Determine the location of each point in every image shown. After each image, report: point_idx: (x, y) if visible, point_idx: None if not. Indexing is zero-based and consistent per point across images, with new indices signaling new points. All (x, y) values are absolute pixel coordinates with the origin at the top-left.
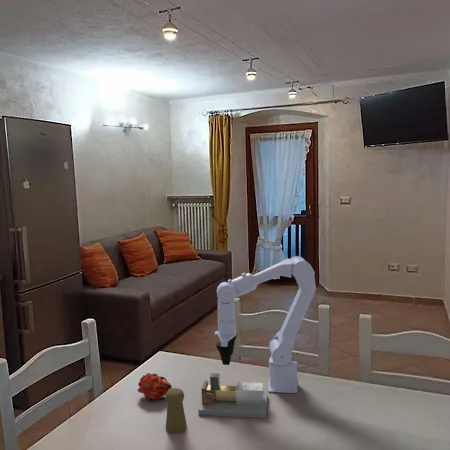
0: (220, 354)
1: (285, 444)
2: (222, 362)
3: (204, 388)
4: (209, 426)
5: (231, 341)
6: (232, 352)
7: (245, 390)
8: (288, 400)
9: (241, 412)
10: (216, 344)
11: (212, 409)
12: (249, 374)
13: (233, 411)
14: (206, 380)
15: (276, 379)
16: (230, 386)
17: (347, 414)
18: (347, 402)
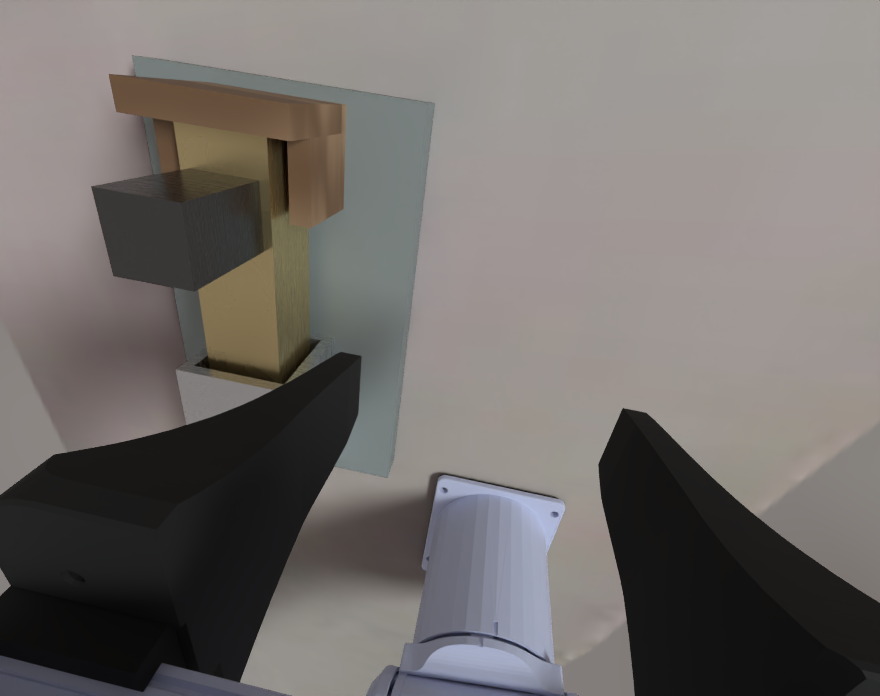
0: (231, 411)
1: (69, 448)
2: (327, 360)
3: (123, 109)
4: (66, 147)
5: (651, 639)
6: (602, 492)
7: (188, 421)
8: (367, 523)
9: (183, 337)
10: (25, 509)
11: None
12: (688, 424)
13: (176, 298)
14: (285, 124)
15: (433, 561)
16: (264, 331)
17: (287, 630)
18: (359, 653)
